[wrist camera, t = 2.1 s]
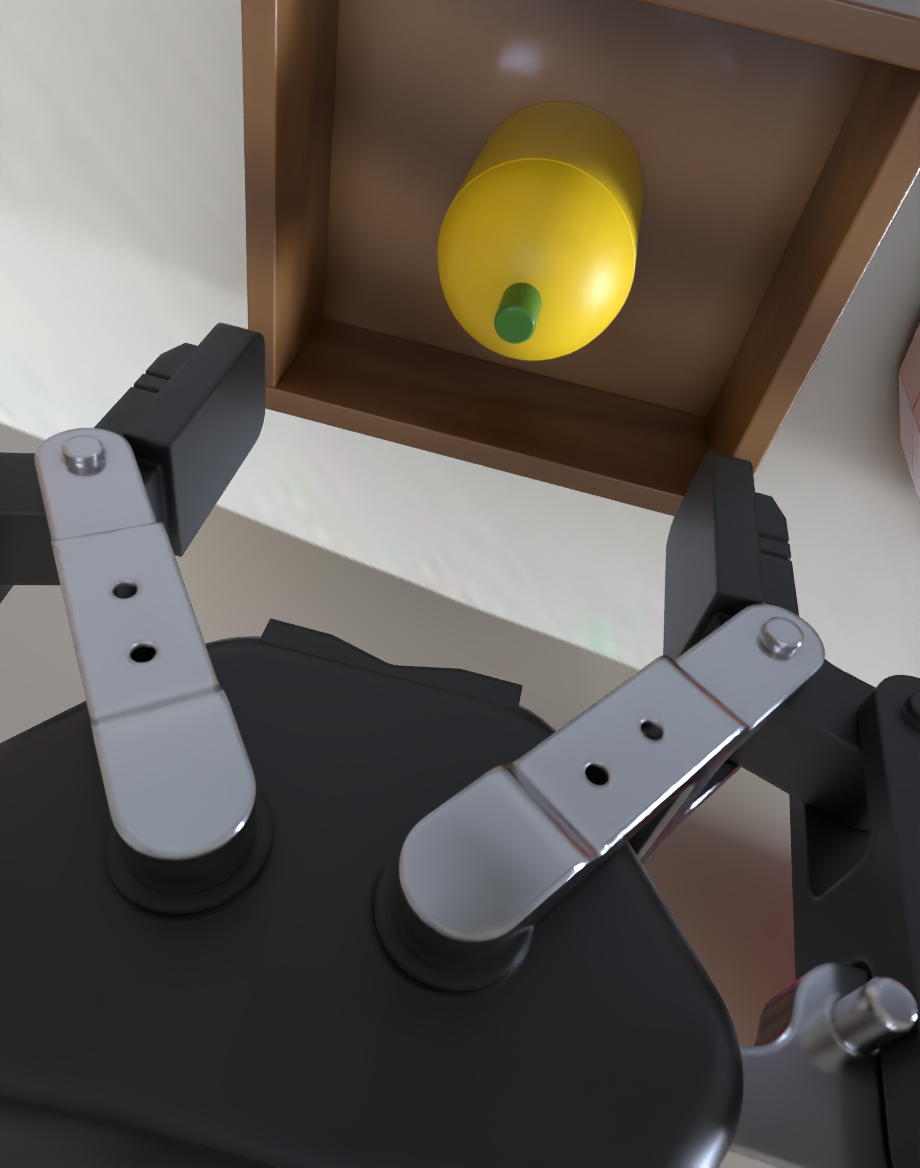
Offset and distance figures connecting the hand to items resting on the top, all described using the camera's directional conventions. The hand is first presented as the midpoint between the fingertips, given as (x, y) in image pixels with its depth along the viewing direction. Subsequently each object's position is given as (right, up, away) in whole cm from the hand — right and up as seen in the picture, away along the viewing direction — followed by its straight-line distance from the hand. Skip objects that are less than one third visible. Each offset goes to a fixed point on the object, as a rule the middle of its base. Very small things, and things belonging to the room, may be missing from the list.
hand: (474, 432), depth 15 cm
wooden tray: (+3, +9, +9) cm, 13 cm away
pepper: (+2, +8, +8) cm, 12 cm away
